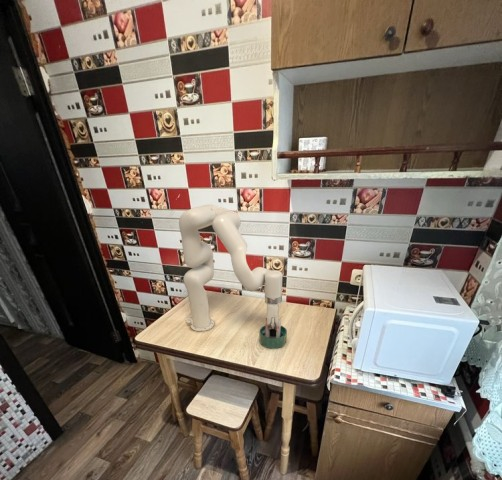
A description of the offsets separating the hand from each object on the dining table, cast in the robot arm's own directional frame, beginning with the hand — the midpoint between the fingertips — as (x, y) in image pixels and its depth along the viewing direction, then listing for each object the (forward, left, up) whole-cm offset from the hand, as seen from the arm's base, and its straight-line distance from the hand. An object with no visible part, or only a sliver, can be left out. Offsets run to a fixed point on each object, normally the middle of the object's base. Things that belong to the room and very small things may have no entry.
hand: (272, 332), depth 132 cm
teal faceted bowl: (0, 0, -5) cm, 5 cm away
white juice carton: (0, 0, -2) cm, 2 cm away
